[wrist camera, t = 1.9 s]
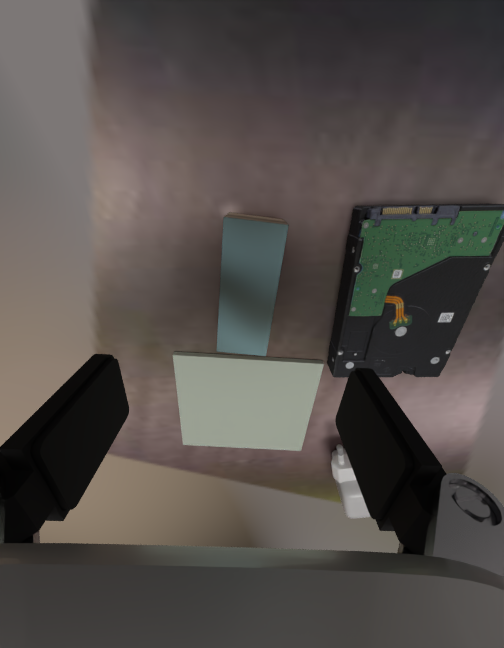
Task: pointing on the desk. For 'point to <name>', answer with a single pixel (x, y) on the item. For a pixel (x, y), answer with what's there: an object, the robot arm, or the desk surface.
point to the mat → (245, 399)
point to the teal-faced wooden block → (249, 281)
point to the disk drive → (410, 285)
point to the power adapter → (348, 485)
